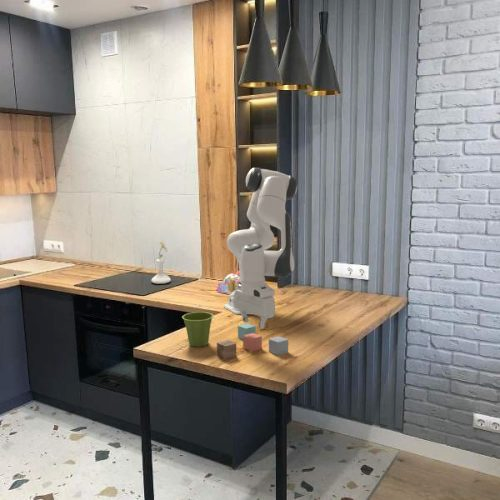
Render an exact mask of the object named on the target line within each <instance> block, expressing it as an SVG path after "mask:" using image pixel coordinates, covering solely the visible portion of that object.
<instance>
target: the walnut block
mask: <svg viewBox="0 0 500 500" xmlns="http://www.w3.org/2000/svg"><path fill="white" fill-rule="evenodd" d="M216 356H217V357H219V358H221V359H223V360H225V359H226V360H228V359H232V358H235V356H236V357H237V343H236V342H234V341H232V340H229V339H225V340H222V341H218V342H216Z"/></svg>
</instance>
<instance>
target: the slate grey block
mask: <svg viewBox="0 0 500 500" xmlns="http://www.w3.org/2000/svg"><path fill="white" fill-rule="evenodd" d="M268 352H269V353H271V354H273V355H276V356H281V355H284V354H287V353H289V339H288V338H285V337H282V336H280V335H279V336H278V335H277V336H275V337H270V338H269V339H268Z"/></svg>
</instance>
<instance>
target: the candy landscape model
mask: <svg viewBox="0 0 500 500" xmlns="http://www.w3.org/2000/svg"><path fill="white" fill-rule="evenodd" d="M239 281H240V275H239V270H237V271H236V272H235V273H229V274H227V275H226V277H225V278H224V279H223V281H221V282H220V281H218V283H217V286H216V289H215V292H217V293H219V294H220V293H221V294H227V295H230V294H231V293H232V292H234V291H235V288H236V286H238V284H237V283H238V282H239Z"/></svg>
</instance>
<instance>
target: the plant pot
mask: <svg viewBox="0 0 500 500" xmlns="http://www.w3.org/2000/svg"><path fill="white" fill-rule="evenodd" d="M213 317H214V314H213V313H211V312H207V311H195V312H188V313H185V314H184V315H183V314H182V316H181V318H182V319H183V322H184V325H185V329H186V334H187V338H188V343H189V346H190V347H196V348H202V347H205V346H207V345H209V342H210V341H209V339H210V331H211V325H212V319H213Z"/></svg>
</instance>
